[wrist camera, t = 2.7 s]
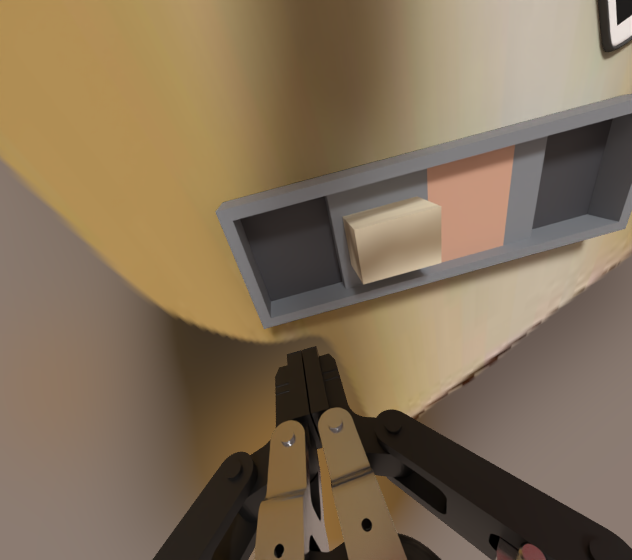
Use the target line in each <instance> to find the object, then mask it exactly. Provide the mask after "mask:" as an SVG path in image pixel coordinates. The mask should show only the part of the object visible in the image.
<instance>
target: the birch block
mask: <svg viewBox="0 0 632 560" xmlns="http://www.w3.org/2000/svg"><path fill="white" fill-rule="evenodd" d="M343 223H344V228H345V233H346V239H347V244H348V250H349V255H350V260H351V265H352V267H353V269H354V270H355V272H356V273H357V275H358V277H359V278H360V280H361V281H362V283H363V285H364V284H367V283H371V282H374V281H378V280H382V279H385V278H389V277H393V276H396V275H400V274H403V273H407V272H411V271H414V270H418V269H421V268H425V267H429V266H432V265H436V264H440V263H441V206H440V205H437V204H435V203H432V202H430V201H427V200H425V199H422V198H420V197H413V198H409V199H405V200H402V201H398V202H394V203H391V204H387V205H383V206H380V207H376V208H372V209H369V210H365V211H361V212H358V213H354V214H350V215H347V216H343Z"/></svg>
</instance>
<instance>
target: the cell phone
mask: <svg viewBox="0 0 632 560" xmlns="http://www.w3.org/2000/svg"><path fill="white" fill-rule="evenodd" d="M598 5H599V16H600V28H601V39H602V45H603V49H604V51H605V52H610V51H613V50H616V49H618V48H620V47H622V46H623V45H625V44H626V43H628V42H629V41H631V40H632V0H598Z"/></svg>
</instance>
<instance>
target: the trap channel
mask: <svg viewBox="0 0 632 560" xmlns="http://www.w3.org/2000/svg"><path fill="white" fill-rule="evenodd" d="M413 197H420V198H422V199H425V200H427V201H430V202H432V203H435V204H437V205H440V206H441V263H440V264H436V265H432V266H429V267H425V268H421V269H418V270H414V271H411V272H407V273H403V274H400V275H396V276H393V277H389V278H385V279H382V280H378V281H374V282H371V283H367V284H364V285H363V283H362V281H361V280H360V278H359V277H358V275H357V273H356V272H355V270H354V269H353V267H352V265H351V260H350V255H349V250H348V244H347V239H346V233H345V228H344V223H343V216H347V215H350V214H354V213H358V212H361V211H365V210H369V209H372V208H376V207H380V206H383V205H387V204H391V203H394V202H398V201H402V200H405V199H409V198H413ZM631 210H632V94H627V95H622V96H618V97H614V98H610V99H607V100H603V101H599V102H595V103H592V104H588V105H584V106H581V107H577V108H573V109H569V110H566V111H562V112H558V113H554V114H551V115H547V116H543V117H540V118H536V119H532V120H528V121H525V122H521V123H517V124H513V125H510V126H506V127H502V128H499V129H495V130H491V131H487V132H484V133H480V134H476V135H472V136H469V137H465V138H461V139H458V140H454V141H450V142H446V143H443V144H439V145H435V146H431V147H428V148H424V149H420V150H417V151H413V152H409V153H405V154H402V155H398V156H394V157H391V158H387V159H383V160H379V161H376V162H372V163H368V164H364V165H361V166H357V167H353V168H350V169H346V170H342V171H338V172H335V173H331V174H327V175H323V176H320V177H316V178H312V179H309V180H305V181H301V182H297V183H294V184H290V185H286V186H282V187H279V188H275V189H271V190H268V191H264V192H260V193H256V194H253V195H249V196H245V197H241V198H238V199H234V200H230V201H227V202H223V203H222V204H221V205H220V207H219V208H218V209H217V211H216V214H217V217H218V219H219V222H220V224H221V226H222V229H223V231H224V234H225V236H226V238H227V241H228V243H229V246H230V248H231V250H232V253H233V255H234V258H235V260H236V262H237V265H238V267H239V270H240V272H241V274H242V277H243V279H244V282H245V284H246V286H247V289H248V291H249V294H250V296H251V299H252V301H253V303H254V306H255V308H256V311H257V313H258V315H259V318H260V320H261V323H262V325H263V327H264V329H266V328H269V327H273V326H277V325H280V324H284V323H287V322H291V321H295V320H298V319H302V318H305V317H309V316H313V315H316V314H320V313H323V312H327V311H331V310H334V309H338V308H341V307H345V306H349V305H352V304H356V303H359V302H363V301H367V300H370V299H374V298H377V297H381V296H385V295H388V294H392V293H395V292H399V291H403V290H406V289H410V288H413V287H417V286H421V285H424V284H428V283H431V282H435V281H439V280H442V279H446V278H449V277H453V276H457V275H460V274H464V273H467V272H471V271H475V270H478V269H482V268H485V267H489V266H493V265H496V264H500V263H503V262H507V261H511V260H514V259H518V258H521V257H525V256H529V255H532V254H536V253H539V252H543V251H547V250H550V249H554V248H557V247H561V246H565V245H568V244H572V243H575V242H579V241H583V240H586V239H590V238H593V237H597V236H601V235H604V234H608V233H611V232H615V231H619V230H622V229H625V228H626V225H627V222H628V219H629V216H630V213H631Z"/></svg>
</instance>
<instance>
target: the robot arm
mask: <svg viewBox="0 0 632 560" xmlns="http://www.w3.org/2000/svg"><path fill="white" fill-rule="evenodd" d="M287 362H288V365H287V366H283V367H280V368H279V370H278V372H277V374H276V377H275V386H276V429H275V430H274V432H273V434H272V436H271V440H270V441H269V442H268V443H267V444H266V445H265V446H264V447H262V448H261V449H259V450H258V451H256V452H254V453H253V454H251V455H249V454H248V453H245V452H237V453H234V454H233V455H231V456H229V457H228V458H227V459H226V460H225V461H224V462H223V463H222V465H221V466H220V467H219V469H218V470H217V471H216V473H215V474H214V476H213V477H212V478H211V480H210V481H209V482H208V484H207V485H206V487H205V488H204V489H203V491H202V492H201V494H200V495H199V496H198V498H197V499H196V501H195V502H194V503H193V505H192V506H191V507H190V509H189V510H188V511H187V513H186V514H185V516H184V517H183V519H182V520H181V521H180V522H179V524H178V525H177V527H176V528H175V529H174V531H173V532H172V534H171V535H170V536H169V538H168V539H167V540H166V542H165V543H164V544H163V546H162V547H161V549H160V550H159V551H158V553H157V554H156V556H155V557H154V558H153V560H248V559H249V557H250V555H251V553H252V552H253V550H254V548H255V555H254V560H441V559H440V558H439V557H438V556H437V555H436V554H435V553H434V552H432V551H431V550H430V549H429V548H428V547H426V546H425V545H424V544H422V543H421V542H419V541H417V540H415V539H413V538H411V537H409V536H406V535H403V534H399V533H397V532H396V529H395V526H394V524H393V521H392V518H391V516H390V513H389V510H388V508H387V505H386V503H385V500H384V497H383V495H382V492H381V490H380V487H379V484H378V482H377V479H376V477H375V475H380V476H386V477H387V478H388V479H389V480H390V481H392V482H393V483H394V484H395V485H397V486H398V487H399V488H400V489H402V490H403V491H404V492H405V493H407V494H408V495H409V496H411V497H412V498H413V499H414V500H416V501H417V502H418V503H420V504H421V505H422V506H424V507H425V508H426V509H427V510H429V511H430V512H431V513H432V514H434V515H435V516H436V517H438V518H439V519H440V520H441V521H443V522H444V523H445V524H447V525H448V526H449V527H450V528H452V529H453V530H454V531H456V532H457V533H458V534H459V535H461V536H462V537H463V538H465V539H466V540H467V541H468V542H470V543H471V544H472V545H474V546H475V547H476V548H477V549H479V550H480V551H481V552H483V553H484V554H485V555H486V556H488V557H489V558H490V559H492V560H632V549H631V548H630V547H629V546H628V545H627V544H626V543H625V542H624V541H623V540H622V539H621V538H620V537H618V536H617V535H616V534H614V533H613V532H611V531H610V530H608V529H606V528H605V527H603V526H601V525H599V524H598V523H596V522H594V521H592V520H591V519H589V518H587V517H585V516H584V515H582V514H580V513H578V512H576V511H575V510H573V509H571V508H569V507H568V506H566V505H564V504H562V503H560V502H559V501H557V500H555V499H554V498H552V497H550V496H548V495H547V494H545V493H543V492H541V491H539V490H538V489H536V488H534V487H532V486H531V485H529V484H527V483H526V482H524V481H522V480H520V479H518V478H516V477H515V476H513V475H511V474H510V473H508V472H506V471H504V470H503V469H501V468H499V467H497V466H496V465H494V464H492V463H490V462H489V461H487V460H485V459H483V458H481V457H480V456H478V455H476V454H475V453H473V452H471V451H469V450H467V449H466V448H464V447H462V446H460V445H459V444H456V443H455V442H453V441H452V440H450V439H448V438H446V437H444V436H443V435H441V434H439V433H437V432H436V431H434V430H432V429H431V428H429V427H427V426H425V425H424V424H422V423H420V422H418V421H417V420H415V419H413V418H411V417H409V416H408V415H406V414H404V413H402V412H400V411H398V410H386V411H383V412H381V413H380V414H379V415H378V416H377V418H372V417H362V416H359V415H357V414H355V413H354V412H353V411H352V410H351V409H350V408H349V406H348V403H347V400H346V396H345V393H344V389H343V386H342V382H341V379H340V375H339V372H338V369H337V365H336V362H335V359H334V358H333V357H332V356H331V355H330V354H326V355H323V356H319V354H318V351H317V347H316V346H315V347H311V348H308V349H304V350H302V351H297V352H294V353H290V354H287ZM321 441H322V442H321ZM322 446H323V449H324V454H325V458H326V462H327V465H328V470H329V474H330V478H331V483H332V484H331V486H332V492H333V496H334V500H335V505H336V509H337V513H338V517H339V521H340V525H341V529H342V534H343V538H344V543H342V544H341V545H339V546H338V547H336V548H335V549H334V550H332V551H330V552H329V546H328V540H327V535H326V530H325V525H324V515H323V502H322V488H321V476H320V467H319V461H318V454H317V449H319V448H322Z"/></svg>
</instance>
